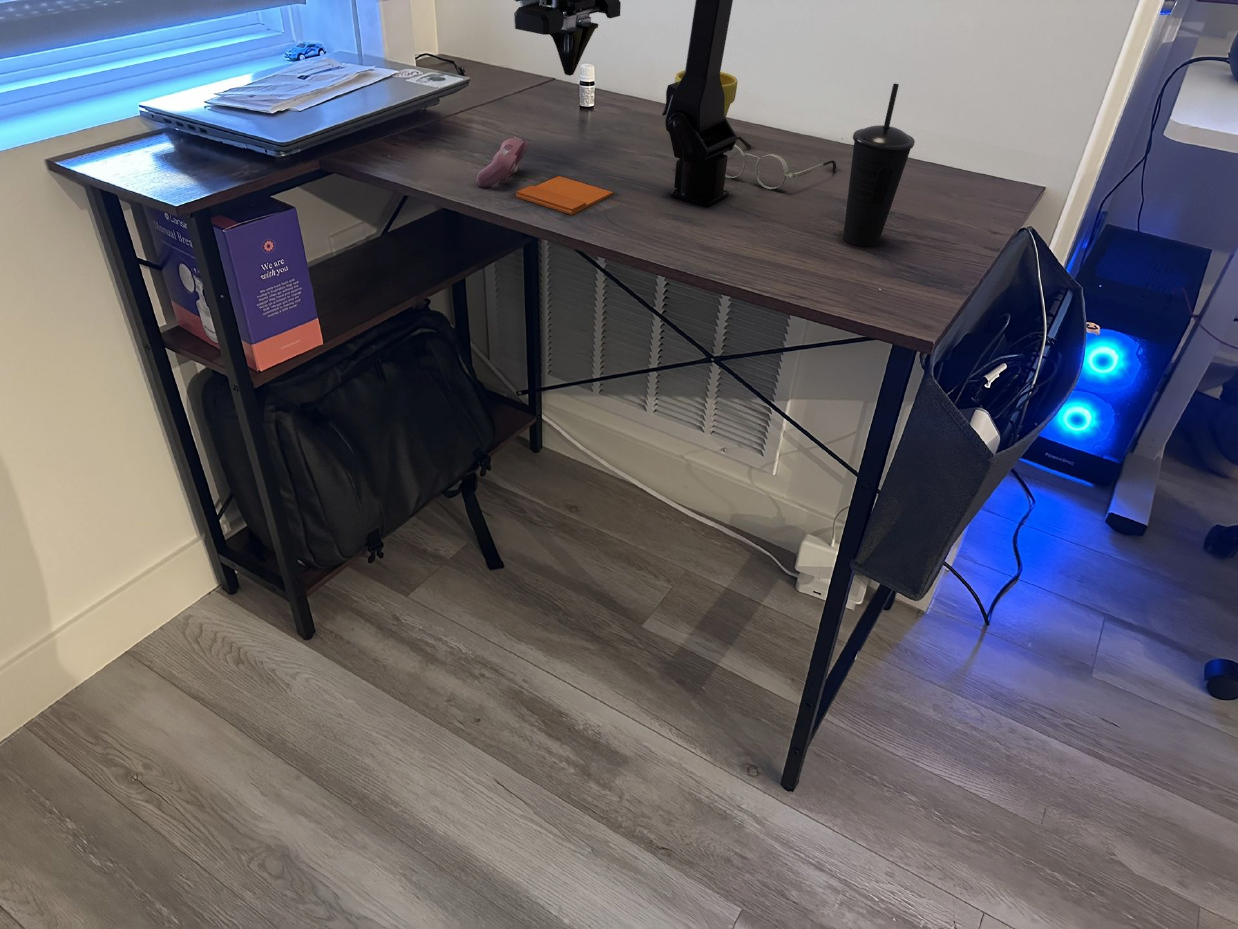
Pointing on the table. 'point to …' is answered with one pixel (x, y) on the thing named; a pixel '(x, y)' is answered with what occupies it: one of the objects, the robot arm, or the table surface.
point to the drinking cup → (874, 178)
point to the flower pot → (727, 83)
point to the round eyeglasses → (781, 163)
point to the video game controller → (503, 162)
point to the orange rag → (563, 195)
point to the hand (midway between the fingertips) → (569, 74)
